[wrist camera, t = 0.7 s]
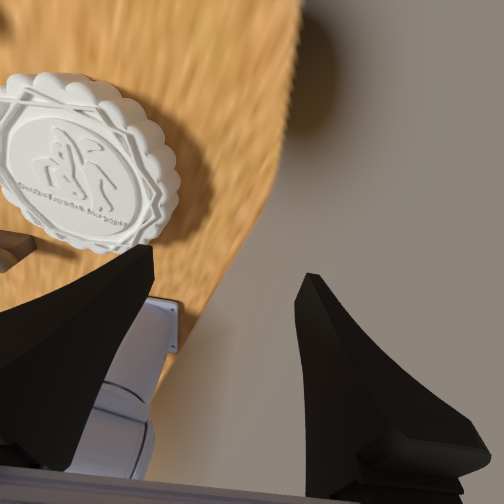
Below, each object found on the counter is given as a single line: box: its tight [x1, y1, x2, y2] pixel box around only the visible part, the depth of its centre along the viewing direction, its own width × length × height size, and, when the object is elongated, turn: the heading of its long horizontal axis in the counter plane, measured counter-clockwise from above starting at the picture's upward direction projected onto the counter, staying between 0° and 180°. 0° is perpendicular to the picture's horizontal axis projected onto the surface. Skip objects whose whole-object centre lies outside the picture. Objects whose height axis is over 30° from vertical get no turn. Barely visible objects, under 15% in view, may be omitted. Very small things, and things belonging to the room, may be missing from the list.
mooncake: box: [0, 72, 181, 254], centre depth 17 cm, size 12×12×4 cm
